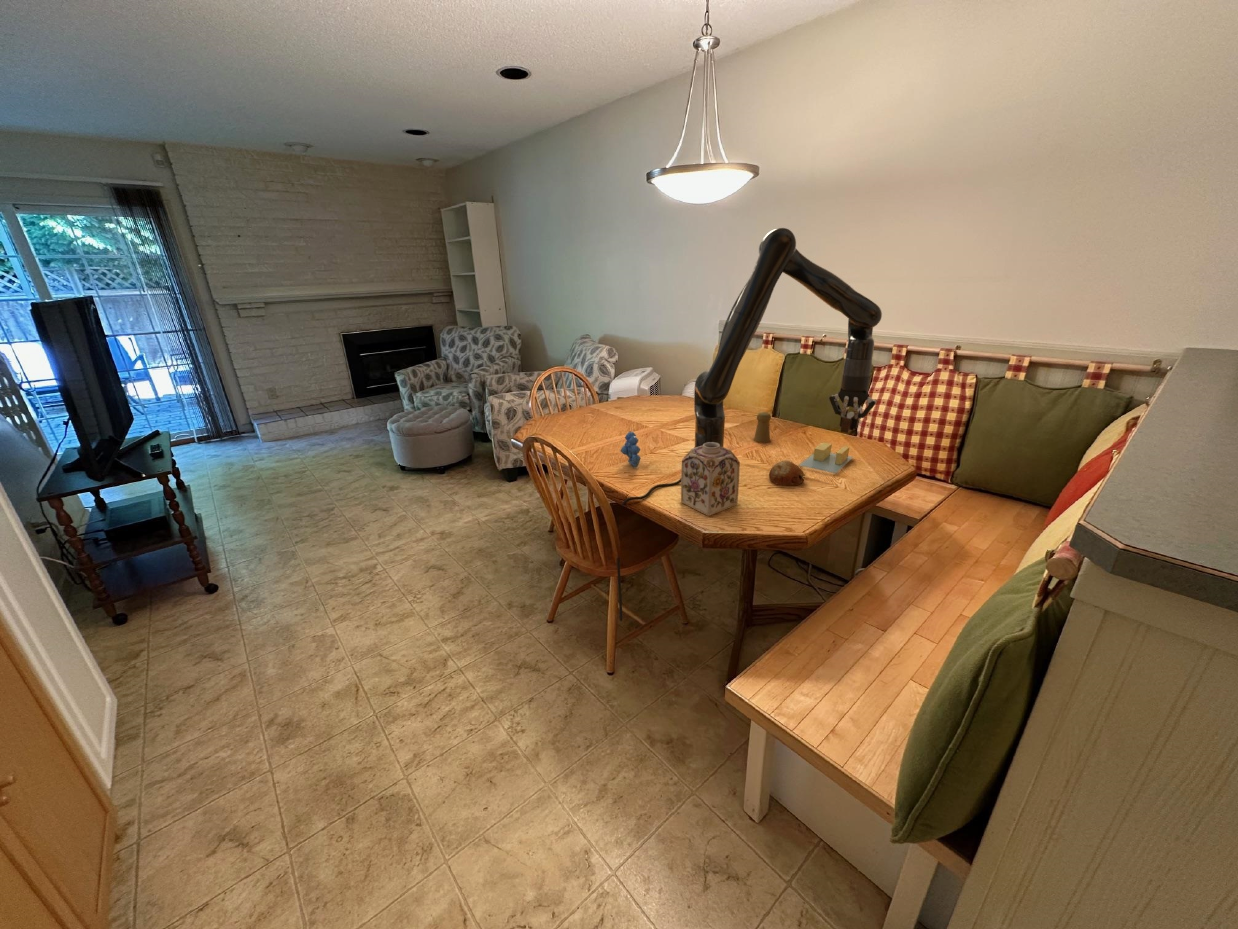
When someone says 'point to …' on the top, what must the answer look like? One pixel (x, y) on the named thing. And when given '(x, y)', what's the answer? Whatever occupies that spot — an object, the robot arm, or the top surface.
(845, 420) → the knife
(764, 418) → the cork
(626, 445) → the grapes
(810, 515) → the top surface
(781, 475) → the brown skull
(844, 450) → the butter slice
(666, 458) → the top surface
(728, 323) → the robot arm
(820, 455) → the butter
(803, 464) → the butter dish
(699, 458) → the decorative jar
